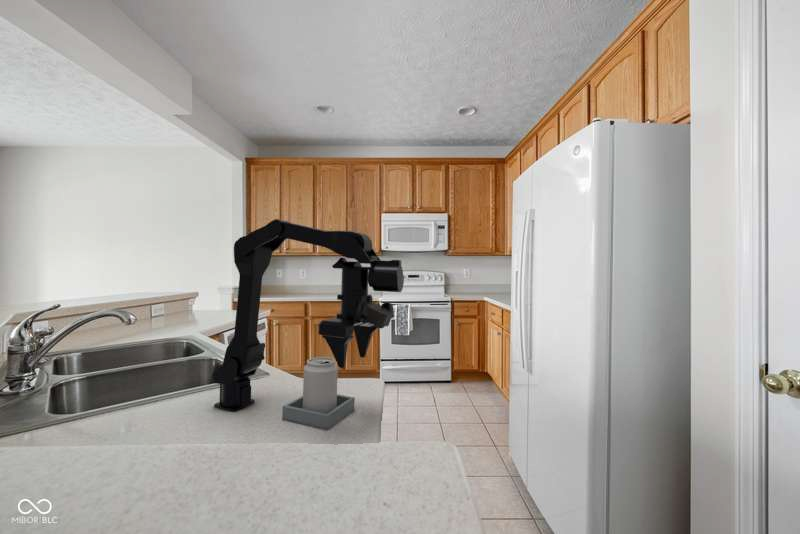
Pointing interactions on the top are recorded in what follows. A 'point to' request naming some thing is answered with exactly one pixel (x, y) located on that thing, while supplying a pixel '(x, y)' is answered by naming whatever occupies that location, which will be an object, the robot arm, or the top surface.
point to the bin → (316, 419)
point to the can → (320, 385)
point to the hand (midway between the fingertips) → (352, 362)
